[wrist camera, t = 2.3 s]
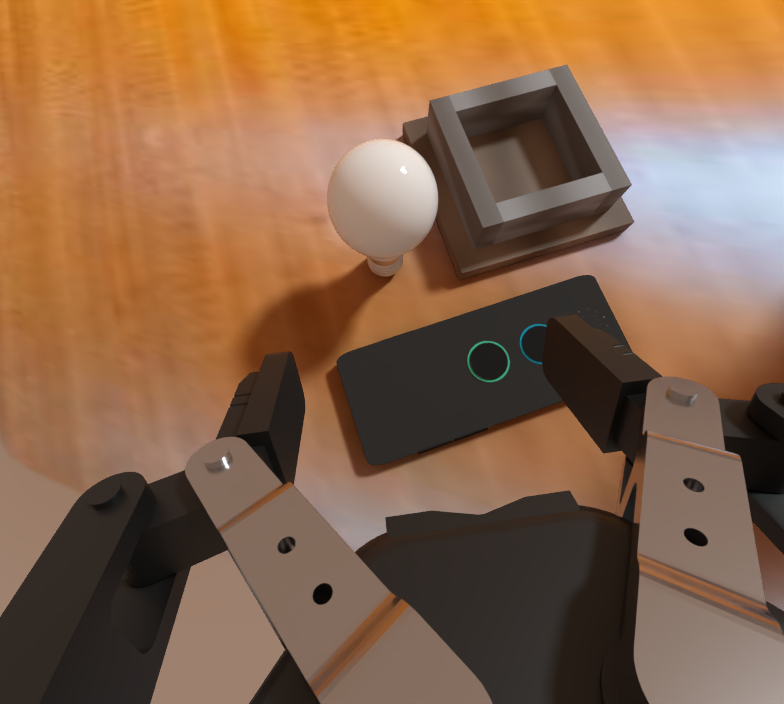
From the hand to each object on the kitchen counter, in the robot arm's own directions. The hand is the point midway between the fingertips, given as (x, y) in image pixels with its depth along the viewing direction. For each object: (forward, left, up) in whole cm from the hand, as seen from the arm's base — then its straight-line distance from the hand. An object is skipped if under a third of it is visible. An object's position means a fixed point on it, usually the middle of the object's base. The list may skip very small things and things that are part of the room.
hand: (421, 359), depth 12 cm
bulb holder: (-14, -15, -15) cm, 25 cm away
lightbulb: (-2, -11, -16) cm, 19 cm away
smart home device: (-6, -1, -16) cm, 17 cm away
